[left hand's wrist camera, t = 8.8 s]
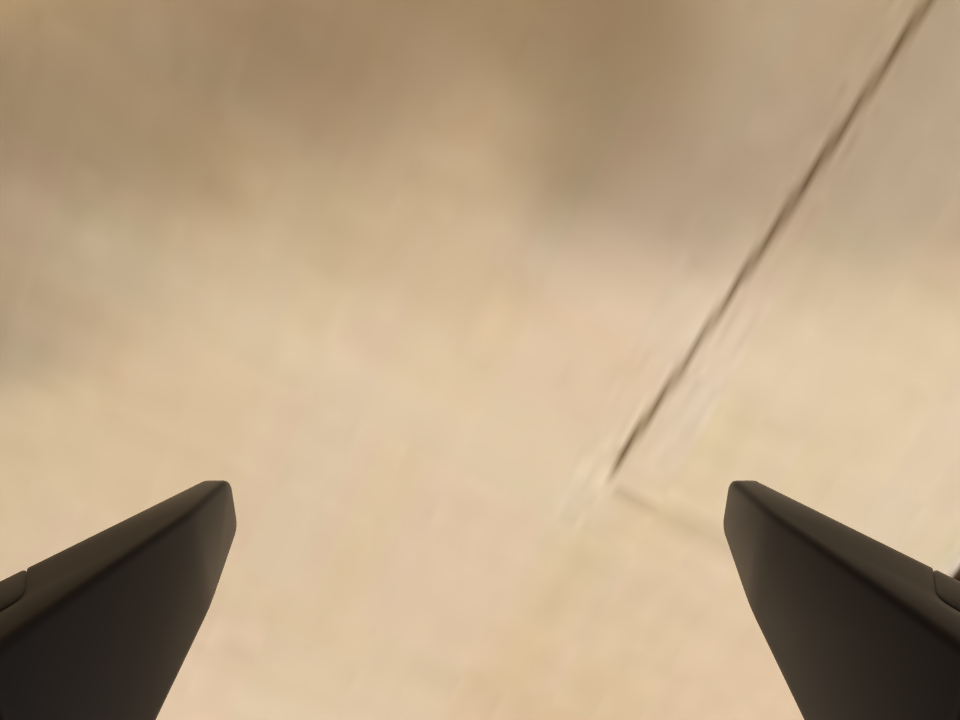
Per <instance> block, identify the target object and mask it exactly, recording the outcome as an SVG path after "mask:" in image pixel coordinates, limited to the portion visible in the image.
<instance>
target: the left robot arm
mask: <svg viewBox="0 0 960 720" xmlns="http://www.w3.org/2000/svg"><path fill="white" fill-rule="evenodd" d="M235 532H236V515H235V509H234V502H233V495H232V489H231V486H230V484H229V483H228V482H227V481H204V482H202V483H200V484H197V485H195V486H193V487H191V488H189V489H187V490H185V491H183V492H181V493H179V494H177V495H175V496H173V497H171V498H169V499H167V500H165V501H163V502H161V503H159V504H157V505H155V506H153V507H151V508H149V509H147V510H145V511H143V512H141V513H139V514H137V515H135V516H133V517H131V518H129V519H126V520H124V521H122V522H120V523H118V524H116V525H114V526H112V527H110V528H108V529H106V530H104V531H102V532H100V533H98V534H96V535H94V536H92V537H90V538H88V539H86V540H84V541H82V542H80V543H78V544H76V545H74V546H72V547H70V548H68V549H66V550H64V551H62V552H60V553H58V554H55V555H53V556H51V557H49V558H47V559H45V560H43V561H41V562H39V563H37V564H35V565H33V566H31V567H29V568H28V569H27V572H26V571H21V572H19V573H17V574H15V575H13V576H11V577H9V578H7V579H5V580H3V581H0V720H156V718H157V716H158V713H159V711H160V709H161V707H162V705H163V703H164V701H165V699H166V697H167V695H168V693H169V691H170V689H171V686H172V684H173V682H174V680H175V678H176V676H177V674H178V672H179V670H180V668H181V666H182V664H183V662H184V659H185V657H186V655H187V653H188V651H189V649H190V647H191V645H192V643H193V641H194V639H195V637H196V635H197V632H198V630H199V628H200V626H201V624H202V622H203V620H204V618H205V616H206V613H207V611H208V609H209V607H210V604H211V602H212V599H213V596H214V594H215V591H216V588H217V585H218V582H219V579H220V576H221V573H222V570H223V567H224V565H225V562H226V559H227V556H228V553H229V550H230V547H231V544H232V541H233V538H234V535H235ZM724 532H725V535H726V538H727V541H728V544H729V547H730V550H731V553H732V556H733V559H734V562H735V565H736V567H737V570H738V573H739V576H740V579H741V582H742V585H743V588H744V591H745V594H746V596H747V599H748V602H749V604H750V607H751V609H752V611H753V613H754V616H755V618H756V620H757V622H758V624H759V626H760V628H761V630H762V632H763V635H764V637H765V639H766V641H767V643H768V645H769V647H770V649H771V651H772V653H773V655H774V657H775V659H776V662H777V664H778V666H779V668H780V670H781V672H782V674H783V676H784V678H785V680H786V682H787V684H788V686H789V689H790V691H791V693H792V695H793V697H794V699H795V701H796V703H797V705H798V707H799V709H800V711H801V713H802V716H803V718H804V720H960V581H957V580H955V579H953V578H951V577H949V576H947V575H945V574H943V573H941V572H939V571H934V572H933V569H932V568H931V567H929V566H927V565H925V564H923V563H921V562H919V561H917V560H915V559H913V558H911V557H909V556H907V555H905V554H902V553H900V552H898V551H896V550H894V549H892V548H890V547H888V546H886V545H884V544H882V543H880V542H878V541H876V540H874V539H872V538H870V537H868V536H866V535H864V534H862V533H860V532H858V531H856V530H854V529H852V528H850V527H848V526H846V525H844V524H842V523H840V522H838V521H836V520H834V519H831V518H829V517H827V516H825V515H823V514H821V513H819V512H817V511H815V510H813V509H811V508H809V507H807V506H805V505H803V504H801V503H799V502H797V501H795V500H793V499H791V498H789V497H787V496H785V495H783V494H781V493H779V492H777V491H775V490H773V489H771V488H769V487H767V486H765V485H763V484H760V483H758V482H756V481H733V482H732V483H731V484H730V486H729V489H728V495H727V502H726V509H725V515H724Z"/></svg>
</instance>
